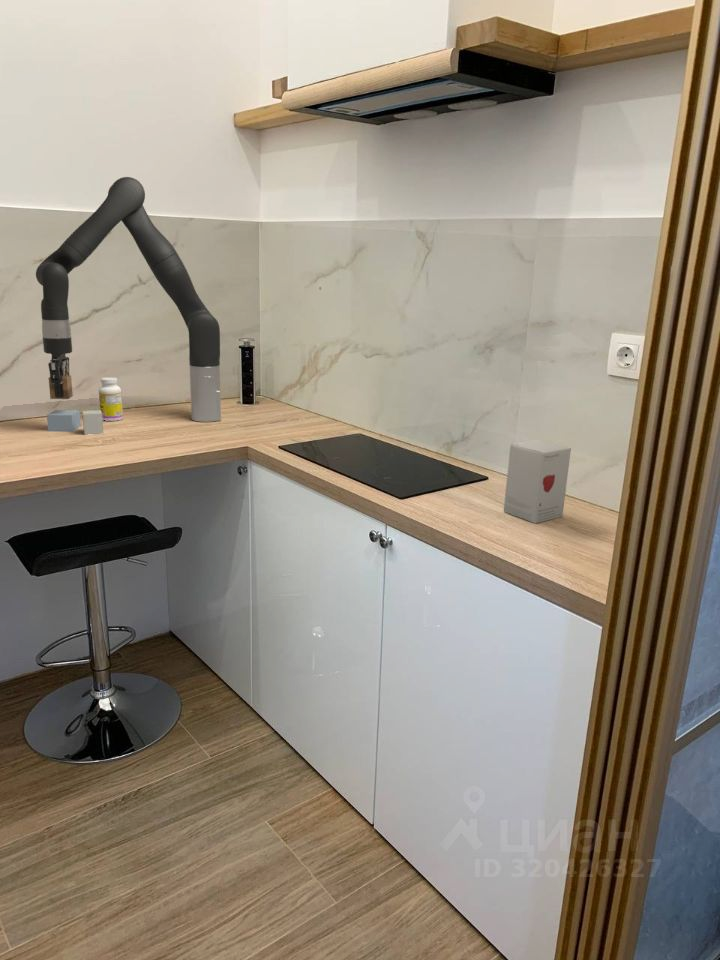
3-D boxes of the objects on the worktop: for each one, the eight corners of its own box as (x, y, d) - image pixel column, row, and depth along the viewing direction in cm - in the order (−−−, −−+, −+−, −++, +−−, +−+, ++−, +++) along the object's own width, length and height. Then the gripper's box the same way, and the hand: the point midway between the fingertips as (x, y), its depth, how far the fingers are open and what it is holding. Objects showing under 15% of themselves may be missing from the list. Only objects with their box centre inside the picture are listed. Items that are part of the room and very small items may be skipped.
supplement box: (535, 524, 146) (542, 452, 141) (502, 512, 153) (508, 443, 148) (564, 516, 151) (572, 447, 147) (531, 504, 158) (538, 438, 153)
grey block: (102, 430, 212) (100, 410, 210) (103, 434, 208) (102, 413, 206) (83, 431, 210) (82, 411, 208) (84, 435, 206) (83, 414, 204)
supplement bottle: (101, 417, 228) (98, 376, 224) (123, 416, 230) (120, 376, 226) (100, 422, 222) (97, 380, 218) (123, 421, 224) (120, 380, 220)
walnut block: (72, 395, 212) (71, 375, 211) (68, 399, 208) (67, 378, 206) (54, 395, 212) (53, 375, 210) (50, 398, 207) (48, 377, 205)
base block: (81, 427, 216) (79, 410, 214) (72, 432, 209) (71, 415, 208) (57, 426, 215) (55, 409, 214) (48, 431, 209) (46, 414, 207)
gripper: (64, 338, 198) (69, 400, 203) (76, 333, 212) (80, 391, 217) (35, 338, 197) (41, 399, 202) (49, 333, 211) (54, 391, 216)
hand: (61, 395), depth 209 cm, fingers closed on walnut block, 5 cm apart
